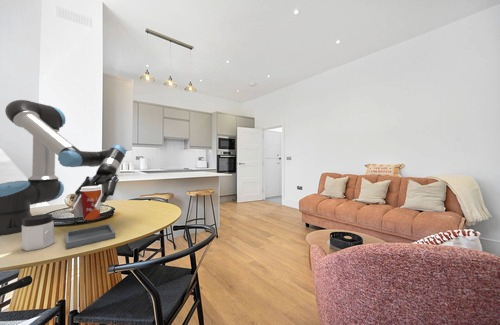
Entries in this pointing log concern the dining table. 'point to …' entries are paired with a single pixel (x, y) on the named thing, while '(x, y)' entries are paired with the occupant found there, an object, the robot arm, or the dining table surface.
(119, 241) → the dining table surface
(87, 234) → the tray
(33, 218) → the jar
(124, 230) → the dining table surface
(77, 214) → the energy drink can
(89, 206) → the paper cup
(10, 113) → the robot arm
